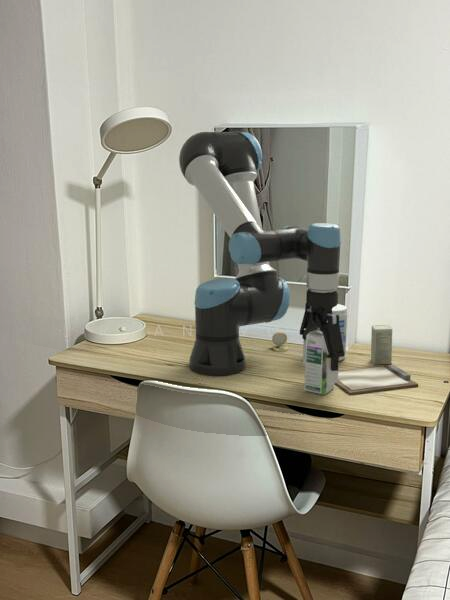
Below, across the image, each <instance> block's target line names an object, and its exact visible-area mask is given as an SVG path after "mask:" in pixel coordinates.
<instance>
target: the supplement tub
mask: <svg viewBox="0 0 450 600" xmlns="http://www.w3.org/2000/svg"><path fill="white" fill-rule="evenodd" d="M332 313H333V315H339V326H340V331H341V337H342V343H343V349H344V357H339V362H340V361H342V360H344V359H345V357H346V350H347V349H346V345H347V343H346V341H347V329H348V327H347V325H348V323H347V322H348V309H347V306H346V305H344V304H340V303H338V304H337V306H335V307H333V308H332ZM317 330H318V331H320V328H319V327H318V329H317Z"/></svg>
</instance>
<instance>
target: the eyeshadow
mask: <svg viewBox="0 0 450 600" xmlns="http://www.w3.org/2000/svg"><path fill="white" fill-rule="evenodd" d="M271 337H272V338H271V339H272V343H273V344H274V345H275V346H274V345H273V351H274V352H277V353H285V352H288V351H289V347H288V346H287V345H285V344H286V343H287V341H288V337H287V334H286V332H283V331H276V332H274V334H273V335H272V336H271Z"/></svg>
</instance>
